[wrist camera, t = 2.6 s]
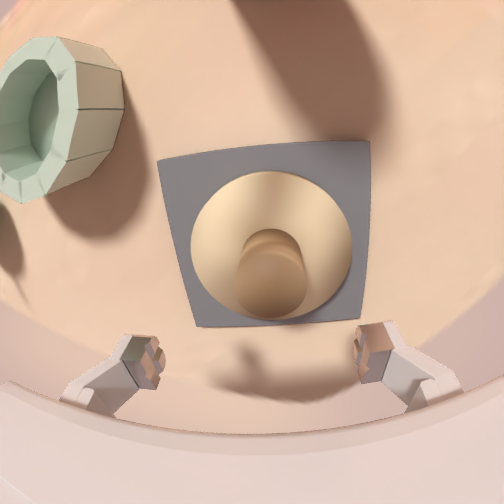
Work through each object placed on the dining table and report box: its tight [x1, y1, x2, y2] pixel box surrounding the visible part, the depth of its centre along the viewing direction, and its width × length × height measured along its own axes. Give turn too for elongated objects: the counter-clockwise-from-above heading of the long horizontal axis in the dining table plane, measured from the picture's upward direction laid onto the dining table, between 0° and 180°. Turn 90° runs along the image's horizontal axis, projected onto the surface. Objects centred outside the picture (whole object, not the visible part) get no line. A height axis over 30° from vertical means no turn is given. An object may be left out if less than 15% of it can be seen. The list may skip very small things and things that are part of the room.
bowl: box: [0, 37, 125, 204], centre depth 12 cm, size 11×11×5 cm
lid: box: [191, 170, 352, 320], centre depth 15 cm, size 10×10×5 cm
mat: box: [157, 141, 371, 327], centre depth 18 cm, size 13×13×1 cm
